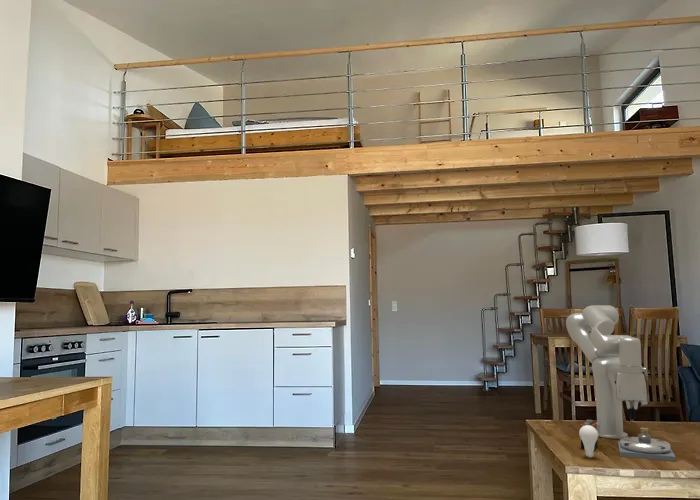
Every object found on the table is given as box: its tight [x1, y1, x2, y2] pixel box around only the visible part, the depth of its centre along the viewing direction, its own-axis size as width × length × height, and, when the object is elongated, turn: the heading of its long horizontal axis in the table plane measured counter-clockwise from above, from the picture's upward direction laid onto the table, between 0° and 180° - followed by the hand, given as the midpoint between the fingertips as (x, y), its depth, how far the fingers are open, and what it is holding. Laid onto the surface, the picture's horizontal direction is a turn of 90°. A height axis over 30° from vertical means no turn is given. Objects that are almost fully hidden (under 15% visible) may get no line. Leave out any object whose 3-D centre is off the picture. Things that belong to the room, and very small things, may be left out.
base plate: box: [617, 440, 677, 462], centre depth 198 cm, size 17×17×2 cm
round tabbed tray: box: [619, 427, 672, 453], centre depth 198 cm, size 16×16×6 cm
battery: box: [579, 419, 599, 451], centre depth 204 cm, size 4×7×10 cm, turn 142°
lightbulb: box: [578, 425, 599, 459], centre depth 192 cm, size 6×6×11 cm
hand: (632, 419), depth 207 cm, fingers closed
